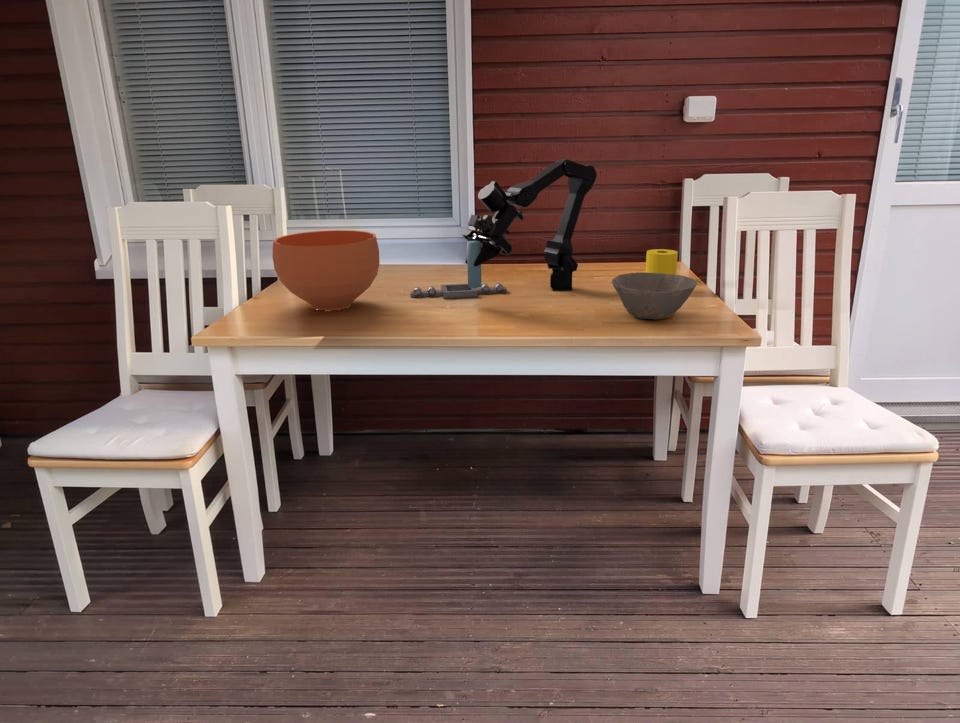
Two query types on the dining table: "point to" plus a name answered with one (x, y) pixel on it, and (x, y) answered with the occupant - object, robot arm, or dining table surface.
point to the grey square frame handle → (457, 291)
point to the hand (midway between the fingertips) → (470, 264)
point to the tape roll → (661, 261)
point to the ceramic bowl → (653, 293)
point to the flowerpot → (327, 265)
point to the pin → (473, 271)
